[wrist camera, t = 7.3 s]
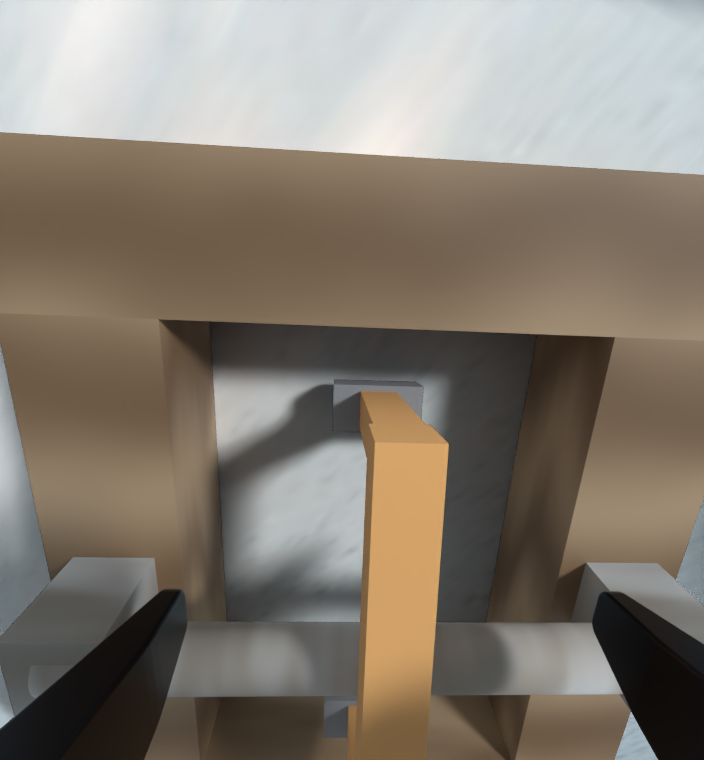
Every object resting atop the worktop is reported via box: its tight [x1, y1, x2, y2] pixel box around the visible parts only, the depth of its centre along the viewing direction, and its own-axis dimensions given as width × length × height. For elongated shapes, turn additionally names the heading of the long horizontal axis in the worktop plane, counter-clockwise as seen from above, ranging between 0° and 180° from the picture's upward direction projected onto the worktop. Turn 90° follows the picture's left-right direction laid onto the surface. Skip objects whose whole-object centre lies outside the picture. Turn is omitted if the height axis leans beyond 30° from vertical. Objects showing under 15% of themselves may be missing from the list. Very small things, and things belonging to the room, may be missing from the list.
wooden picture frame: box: [0, 132, 704, 760], centre depth 13 cm, size 25×20×7 cm
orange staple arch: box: [323, 379, 449, 760], centre depth 12 cm, size 14×3×7 cm, turn 178°
